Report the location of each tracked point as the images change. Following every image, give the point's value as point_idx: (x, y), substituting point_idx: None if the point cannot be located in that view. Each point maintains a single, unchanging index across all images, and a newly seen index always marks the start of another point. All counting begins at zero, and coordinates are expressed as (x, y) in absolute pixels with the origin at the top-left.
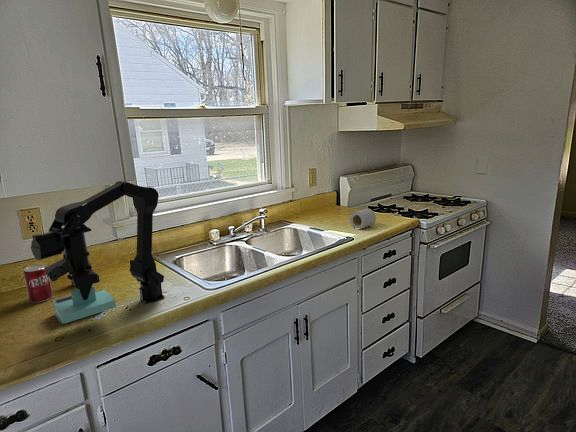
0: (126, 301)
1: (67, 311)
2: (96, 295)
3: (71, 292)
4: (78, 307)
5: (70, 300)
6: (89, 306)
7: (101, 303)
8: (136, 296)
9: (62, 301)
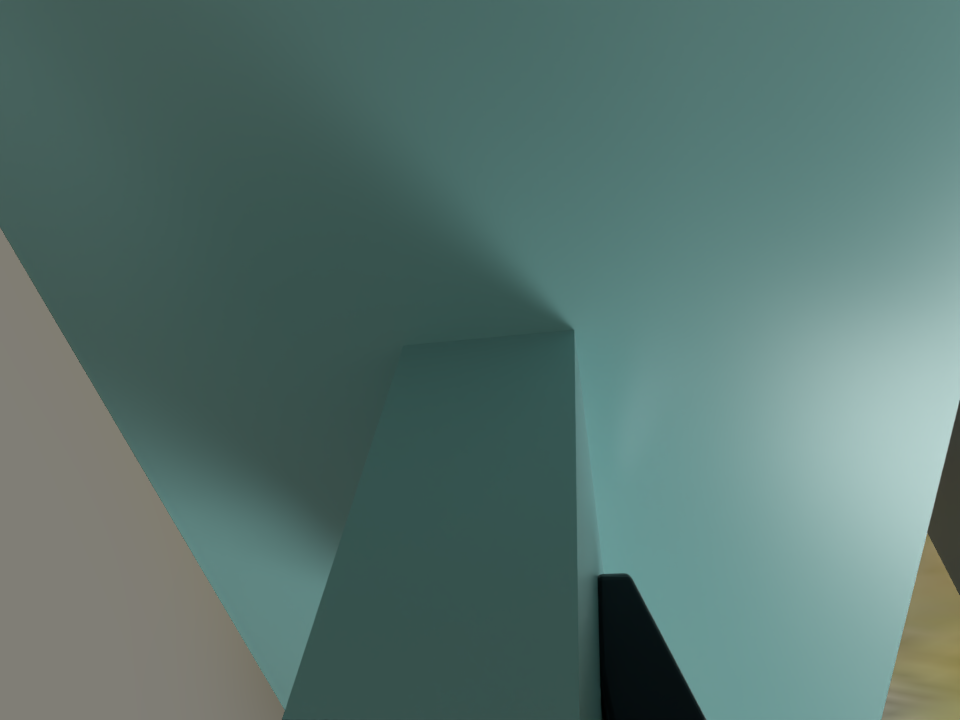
0: (911, 616)
1: (173, 188)
2: (709, 678)
3: (381, 690)
4: (304, 404)
5: (914, 296)
6: (250, 547)
7: (294, 668)
8: (943, 686)
9: None
